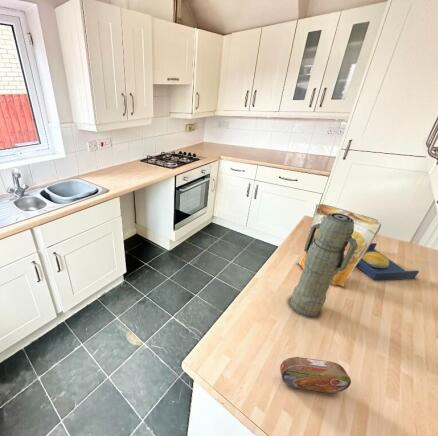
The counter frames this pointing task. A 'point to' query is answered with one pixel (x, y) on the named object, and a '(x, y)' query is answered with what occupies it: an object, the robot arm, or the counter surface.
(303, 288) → the thermos
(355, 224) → the pancake mix bag
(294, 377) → the tin
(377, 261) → the bread roll
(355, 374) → the counter surface
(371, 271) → the scoop
